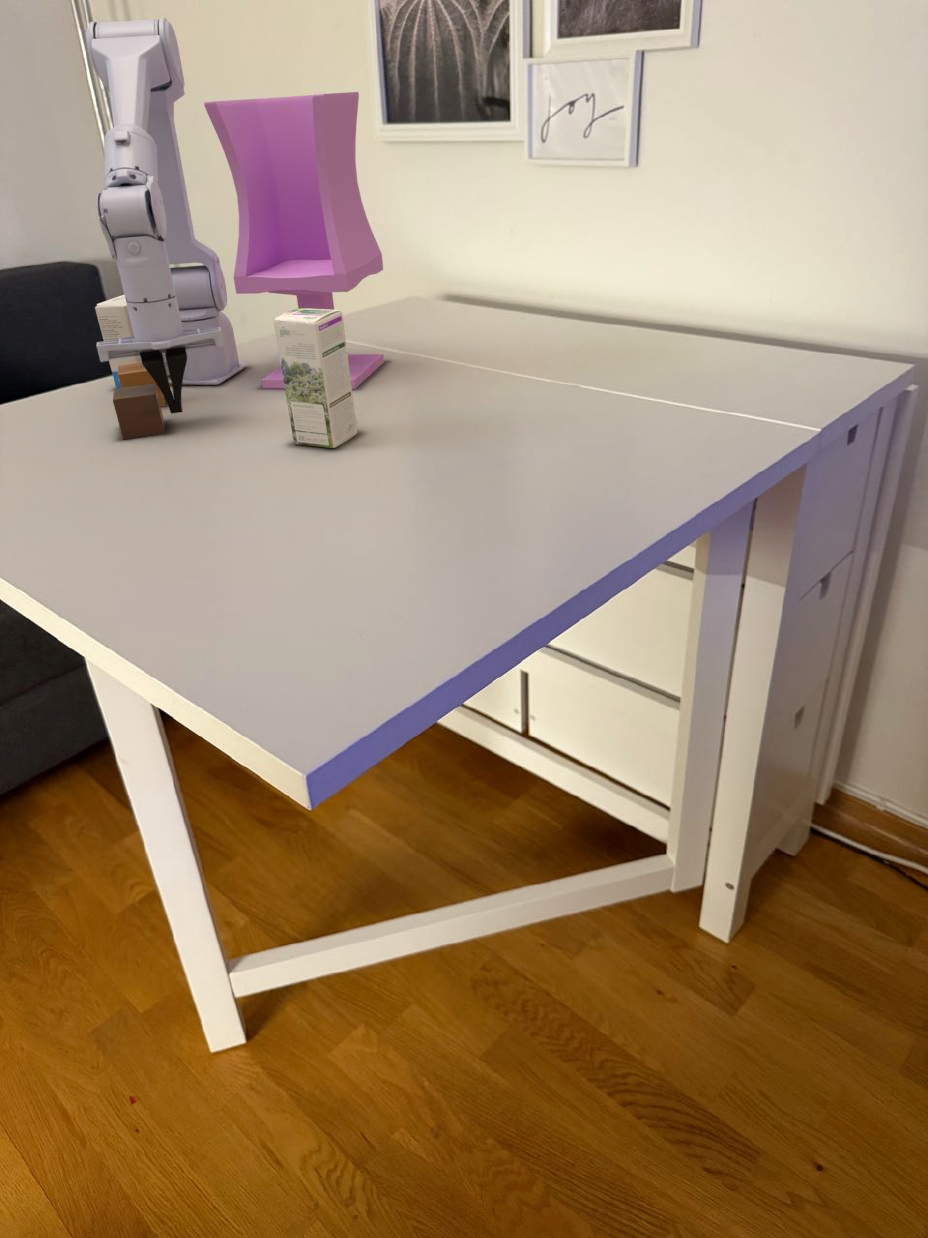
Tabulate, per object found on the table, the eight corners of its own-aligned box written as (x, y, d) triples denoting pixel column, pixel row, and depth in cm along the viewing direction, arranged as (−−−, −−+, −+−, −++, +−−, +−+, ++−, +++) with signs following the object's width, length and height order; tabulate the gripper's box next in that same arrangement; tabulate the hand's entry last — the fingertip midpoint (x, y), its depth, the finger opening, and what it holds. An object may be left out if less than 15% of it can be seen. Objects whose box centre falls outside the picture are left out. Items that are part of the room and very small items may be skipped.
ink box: (145, 389, 129) (124, 304, 123) (114, 389, 130) (92, 305, 124) (173, 373, 136) (155, 292, 130) (143, 373, 137) (124, 292, 131)
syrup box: (359, 433, 107) (344, 307, 99) (333, 450, 102) (315, 319, 95) (319, 429, 109) (301, 305, 102) (291, 445, 105) (270, 317, 97)
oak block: (127, 401, 124) (117, 365, 122) (164, 396, 125) (156, 360, 123) (127, 411, 120) (117, 374, 118) (165, 406, 121) (157, 369, 119)
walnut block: (123, 427, 114) (113, 388, 112) (164, 421, 115) (155, 383, 113) (123, 439, 110) (112, 399, 107) (165, 433, 111) (155, 393, 109)
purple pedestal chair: (253, 390, 126) (201, 101, 108) (295, 360, 139) (255, 98, 121) (359, 390, 122) (324, 93, 104) (392, 360, 135) (365, 91, 117)
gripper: (85, 311, 101) (115, 428, 108) (216, 296, 104) (237, 410, 111) (87, 300, 107) (116, 412, 113) (211, 286, 110) (232, 395, 117)
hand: (176, 410), depth 113 cm, fingers closed
